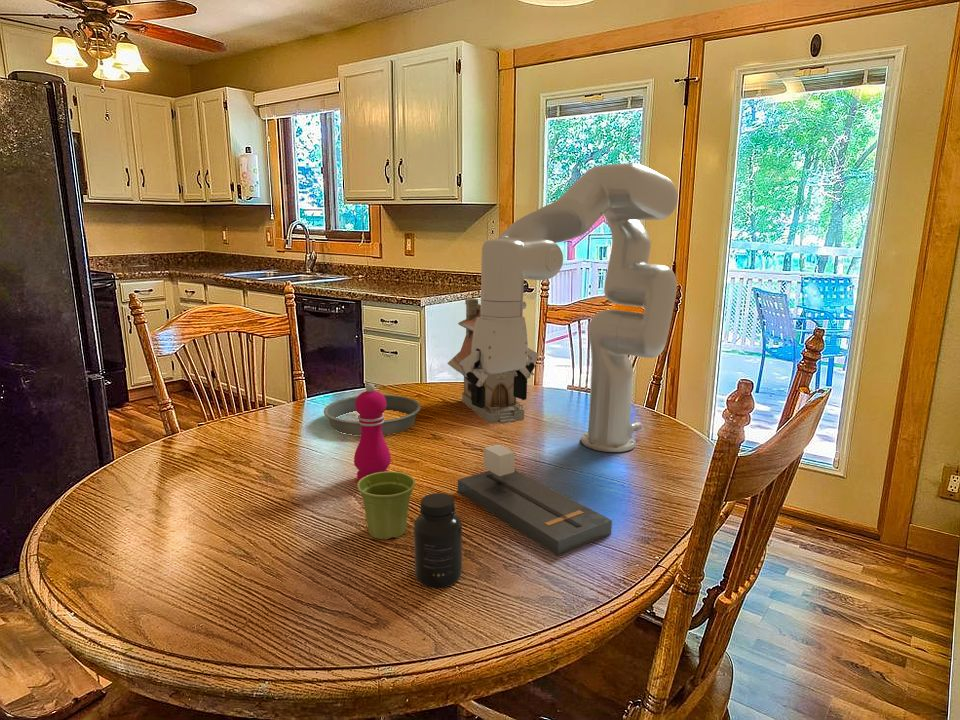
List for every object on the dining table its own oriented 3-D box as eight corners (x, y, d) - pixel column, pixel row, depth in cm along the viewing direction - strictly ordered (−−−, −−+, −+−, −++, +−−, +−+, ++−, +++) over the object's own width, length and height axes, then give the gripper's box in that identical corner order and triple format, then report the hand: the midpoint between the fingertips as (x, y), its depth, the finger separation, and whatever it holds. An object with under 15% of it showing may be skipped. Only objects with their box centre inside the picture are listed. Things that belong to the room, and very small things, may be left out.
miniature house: (475, 426, 152) (476, 309, 146) (446, 401, 174) (446, 298, 168) (539, 419, 159) (543, 306, 152) (503, 395, 181) (505, 296, 174)
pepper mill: (383, 489, 115) (381, 389, 111) (348, 486, 117) (344, 387, 112) (396, 474, 122) (394, 380, 118) (363, 471, 124) (359, 378, 119)
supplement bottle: (415, 563, 90) (414, 489, 87) (460, 562, 91) (460, 488, 88) (414, 590, 83) (413, 511, 81) (463, 588, 84) (463, 510, 81)
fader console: (457, 491, 115) (457, 479, 114) (506, 477, 121) (507, 465, 121) (557, 556, 92) (558, 540, 92) (611, 534, 99) (612, 519, 99)
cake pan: (374, 404, 171) (373, 389, 171) (440, 420, 157) (440, 404, 156) (304, 426, 152) (303, 409, 151) (372, 447, 138) (371, 428, 137)
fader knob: (483, 475, 114) (483, 447, 113) (498, 471, 116) (498, 444, 115) (499, 484, 110) (499, 455, 109) (514, 480, 112) (514, 452, 111)
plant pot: (425, 523, 102) (424, 475, 101) (400, 550, 94) (399, 499, 92) (376, 514, 105) (375, 468, 104) (348, 539, 97) (346, 490, 95)
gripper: (525, 304, 114) (522, 391, 118) (449, 310, 104) (448, 404, 108) (552, 309, 108) (548, 400, 112) (474, 315, 99) (472, 414, 102)
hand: (499, 402), depth 110 cm, fingers open, 9 cm apart
